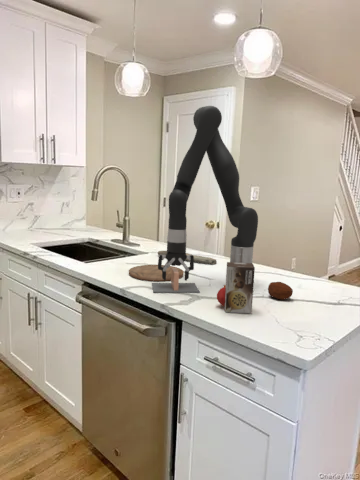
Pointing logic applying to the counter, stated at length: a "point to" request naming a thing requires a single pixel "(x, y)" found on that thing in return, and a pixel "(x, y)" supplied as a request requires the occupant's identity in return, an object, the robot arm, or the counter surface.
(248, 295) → the coffee box
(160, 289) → the mat
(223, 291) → the pomegranate
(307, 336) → the counter surface
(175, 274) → the tile
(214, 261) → the elongated rock
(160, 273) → the trivet
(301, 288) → the counter surface
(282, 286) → the potato
